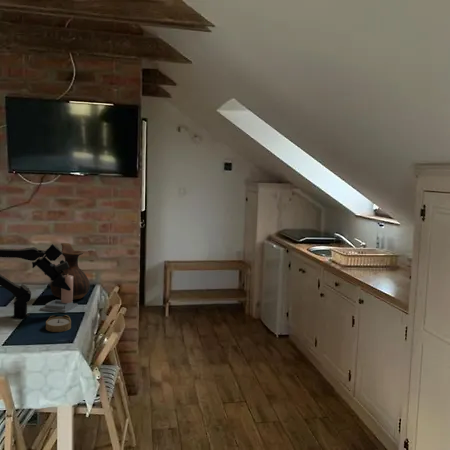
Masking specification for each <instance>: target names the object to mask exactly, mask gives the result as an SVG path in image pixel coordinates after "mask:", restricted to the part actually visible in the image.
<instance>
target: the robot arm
mask: <svg viewBox="0 0 450 450" xmlns="http://www.w3.org/2000/svg"><path fill="white" fill-rule="evenodd" d="M61 255H62V249H60V248H59V247H57V246H56V245H55V244H53V243H51V245H50V246H49V247H47V249H46V250H41V249H38V248H37V247H34V246H33V247H26V248H20V249H19V248H18V249H16V248H15V249H14V248H12V249H11V248H10V249H9V248H0V258H6V259H7V258H9V259H10V258H13V259H14V258H15V259H17V258H18V259H22V260H25V261H31V265H32V266H31V268H32V269H34V268H36V267H38V269H39V270H41V272H43V273H44V275H45V276H47V277H48V278H49V279H50V281H51V282H52V285H53V286H54V287H59V288H62V289H65V290H68V291H70V290H71V289H70V287H69V286H68V285H67V283H66V282H65V277H64V275H65V273H63V274H61V273H62V272H64V271H63V270H65V269H68V268H69V265H68V263H67V261H65V259H62V260H60V261H59V263H58V264H57V265H56V264H55V263H52V262H53V261H54V262H55V261H56V260H57V259H58V258H59V257H61ZM0 286H1V287H3V288H4V289H5V290H7V291H8V292H10V293H11V294H12V295H13V296H14V301H13V315H12V316H10V318H11V319H22V320H23V319H25V318H27V317H29V316H30V315H31V314H30V313H28V303H29V301H31V298H32V291H31V290H30V288H29V287H27V286H26V285H25V284H23V283H22V284H21V285H17V284H16V283H14V282H13V281H11V280H10V279H8V278H6V277H5V276H3V275H2V274H0Z"/></svg>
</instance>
